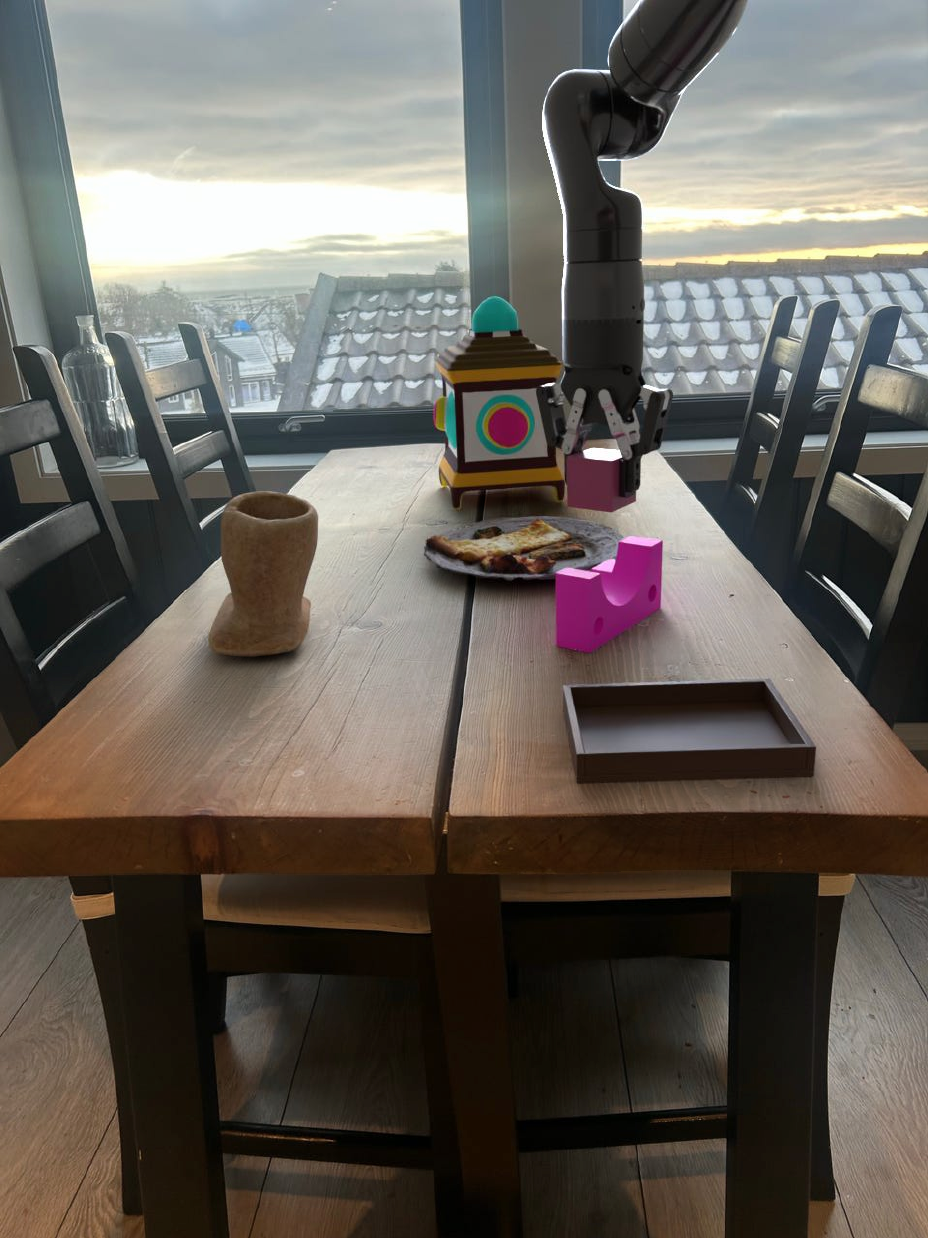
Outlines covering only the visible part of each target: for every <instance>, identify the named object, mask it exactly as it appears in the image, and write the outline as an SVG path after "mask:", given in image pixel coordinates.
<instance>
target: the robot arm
mask: <svg viewBox="0 0 928 1238" xmlns="http://www.w3.org/2000/svg"><path fill="white" fill-rule="evenodd" d="M747 4H748V0H639V1H638V2H637V3H636V4H635V6H634V7H633V8H632V10H631V11H630V12H629V13H628V15H627V16H626V18H625V19H624V21H623V22H622V23H621V25H620V26H619V27H618V29H617V30H616V32H615V34H614V36H613V37H612V40H611V42H610V44H609V48H608V55H607V64H608V70H607V69H605V70H604V69H571V70H566V71H564V72H562V73H561V74H559V75H558V76H557V77H556V78H555V79H554V81H553V82H552V83H551V85H550V87H549V88H548V91H547V93H546V96H545V98H544V102H543V109H542V132H543V137H544V142H545V146H546V149H547V153H548V157H549V160H550V164H551V167H552V171H553V176H554V179H555V183H556V187H557V193H558V196H559V197H558V198H559V200H560V204H561V209H562V214H563V256H564V257H563V259H564V261H563V262H564V265H563V277H562V283H561V284H562V286H561V326H562V327H561V339H562V340H561V341H562V342H561V343H562V345H561V347H562V348H561V349H562V352H561V353H562V355H561V357H562V365H563V366H564V374H563V376H562V378H561V381H560V382H556V383H551V384H547V385H543V386H539V387H537V389H536V396H537V400H538V405H539V410H540V415H541V419H542V424H543V429H544V433H545V438H546V442H547V444H548V445H549V446H555V447H556V449H559V450H560V451H562V453H563V460H564V462H563V464H564V465H563V466H564V468H563V470H564V471H563V473H564V476H563V478H564V481H565V486H567V457H568V456H571V455H573V454H576V453H579V452H582V451H583V449H584V448H585V446H586V442H587V440H588V436H589V433H590V431H591V430H592V429H593V427H594V425H595V423H598V424H601V425H604V426H608V427H609V430H610V433H611V436H612V437H613V438H614V439H615V440H616V444H617V446H618V450H620V453H621V456H622V458H623V459H621V460H619V496H620V497H623V498H628V497H630V496H633V495H634V494H635V491H636V492H637V491H639V490H640V488H641V473H642V472H641V471H642V470H641V469H642V468H641V467H642V457H643V456H645V455H646V456H647V455H648V454H650V453H653V452H656V451H658V450H660V449H661V447H662V443H663V439H664V434H665V431H666V427H667V422H668V418H669V415H670V411H671V407H672V402H673V400H674V399H673V398H674V392H673V390H672V389H671V388H668V387H667V388H661V389H660V388H657V387H653V386H651V385H647V383H646V380H645V378H644V375H643V372H642V366H643V362H644V361H643V360H644V331H645V330H644V322H645V321H644V320H645V309H646V301H645V280H644V271H643V260H642V259H643V223H644V222H643V221H644V220H643V219H644V217H643V204H642V200H641V198H640V196H639V195H638V194H637V193H635V192H633V191H631V190H628V189H624V188H620V187H616V186H613V185H611V184H609V182H607V181H606V179H605V177H604V175H603V172H602V168H601V167H600V164H599V161H630V160H635V159H637V158H640V157H642V156H644V155H646V154H648V153H649V152H650V151H652V150H653V149H654V148H655V147H656V146H657V145H659V143H660V141H661V140H662V139H663V136H664V134H665V132H666V130H667V128H668V125H669V123H670V121H671V119H672V116H673V114H674V112H675V110H676V108H677V107H678V104H679V103H680V99H681V97H682V95H683V93H684V92H685V90H686V89H687V87H688V86H690V85H691V84H692V82H693V81H694V80H695V79H696V78H697V77H698V76H699V75H700V74H701V73H702V72H703V71H704V69H705V68H707V66H708V65H709V64H710V63H711V62H712V61H714V58H716V57H717V55H719V53H720V52H721V51H722V50H723V48H724V47H725V46H726V45H727V43H728V42H729V41H730V39H731V37H732V36H733V35H734V33H735V32H736V30H737V28H738V27H739V24H740V22H741V21H742V19H743V15H744V14H745V10H746V8H747ZM565 399H566V400H567V402H568V404H569V405H570V407H571V408H570V412H569V414H568V417H567V419H566V415H565V409H564V406H563V404H564V402H565ZM641 399H642V402H643V403H642V407H643V409H644V411H645V415H644V419H643V424H642V426H641V427H642V428H641V433H640V423H639V420H638V416H637V413H636V410H635V408H636V406H637V404H638V403H639V402H640V400H641Z"/></svg>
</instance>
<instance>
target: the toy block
mask: <svg viewBox="0 0 928 1238" xmlns="http://www.w3.org/2000/svg"><path fill="white" fill-rule="evenodd" d="M624 538H625V539H623V540H621V541H619V542H618V551H617V556H616V560H613V559H609V560H607V561H605V562H602V563H601V564H597V565H596V566H592V567H591V568H590V569H589V570H585V571H584V570H579V569H573V568H565V569H563V570H561V571H559V572H557V573H556V579H555V646H556V647H560V648H565V649H568V650H573V649H576V650H575V651H577V650H580V651H579V652H581V651H584V652H583V653H586V652H588V653H587V654H591V653H592V652H594V651H595V650H597V649H598V648H600V647H602V646H603V645H605V644H607V643H608V642H609V641H611V640H612V639H614V638H616V637H617V636H620V634H622V633H624V632H625V631H627V630H629V629H631V627H633V626H635V625H637V624H639V622H641V621H642V620H644V619H645V618H647V617H649V616H651V615H652V614H653V613H655V612H657V611H658V610H660V609H661V607H662V581H663V580H662V579H663V547H664V540H663V539H658V538H652V537H651V538H650V537H644V536H637V535H629V536H627V537H624ZM593 650H594V651H593ZM591 651H592V652H591ZM590 652H591V653H590Z"/></svg>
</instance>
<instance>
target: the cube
mask: <svg viewBox="0 0 928 1238" xmlns="http://www.w3.org/2000/svg"><path fill="white" fill-rule="evenodd" d="M621 459H623V458H622V456H621V453H620V450H619V449H609V448H599V447H591V448H588V449H585V450H582V452H579V453H576V454H573V455H571V456H568V457H567V485H566V507H567V508H573V509H579V510H588V511H595V512H603V513H614V512H616V511H618V510H620V509H622V508H625V507H627V506H629V505H631V504H634V503H635V502H637V490H636V491H635V494H634V495H633V496H630V497H628V498H623V497H620V496H619V460H621Z"/></svg>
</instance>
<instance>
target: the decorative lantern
mask: <svg viewBox="0 0 928 1238" xmlns="http://www.w3.org/2000/svg"><path fill="white" fill-rule="evenodd" d="M434 362H435V365H436V367H437V370H438V371H439V373H440V376H441V384H442V396H440V397H438V398H437V399H436V401H435V403H434V406H433V425H434V426H435V428H436V429H438V430H439V431H443V432H444V453H443V455H442V458H441V460H440V463H439V465H438V479H439V483H440V486H441V487H442V488H446V487H448V488H449V491H450V498H451V499H450V500H451V505H452V507H453V509H454V510H457V511H459V510H460V509H461V508H462V499H463V495H464V494H466V493H468V492H477V491H492V490H507V489H521V488H523V489H524V488H534V487H535V488H536V487H551V488H552V489H553V497H554V500H555V502H557V503H561V502H563V501H564V498H565V494H566V483H565V478H564V476H563V473H562V470H561V469H560V467H559V465H558V461H557V447H555V446H549V445H548V444H547V442H546V438H545V433H544V429H543V424H542V419H541V415H540V410H539V405H538V400H537V396H536V389H537V387H539V386H543V385H547V384H551V383H556V384H557V380H558V377H559V375H560V372H561V371H562V367H563V362H561V361H560V360H559V359H558V357H557V355H554V354H552V353H551V351H550V349H549V348H545V347H543V346H541V345H538V344H536V343H535V342H533V341H530V338H529V337H528V336H526V335H524V334H523V329H521V328H519V318H518V314H517V311H516V309H514V307H513V306H512V305H511V304H510V303H509V302H508V301H506V300H505V299H504V298H502V297H500V296H495V295H492V296H489V297H488V298H486V299H484V300H483V301H481V303H480V304H479V305H478V307H477V308H476V309H475V310H474V312H473V314H472V317H471V328H470V329H468V333H467V334H465V335H463V337H462V339H461V340H459V341H458V342H457V343H456V345H449V346H446V347H445V349H444V350H443V351H440V352H439V354H438V356H436V357H435V358H434Z"/></svg>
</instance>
